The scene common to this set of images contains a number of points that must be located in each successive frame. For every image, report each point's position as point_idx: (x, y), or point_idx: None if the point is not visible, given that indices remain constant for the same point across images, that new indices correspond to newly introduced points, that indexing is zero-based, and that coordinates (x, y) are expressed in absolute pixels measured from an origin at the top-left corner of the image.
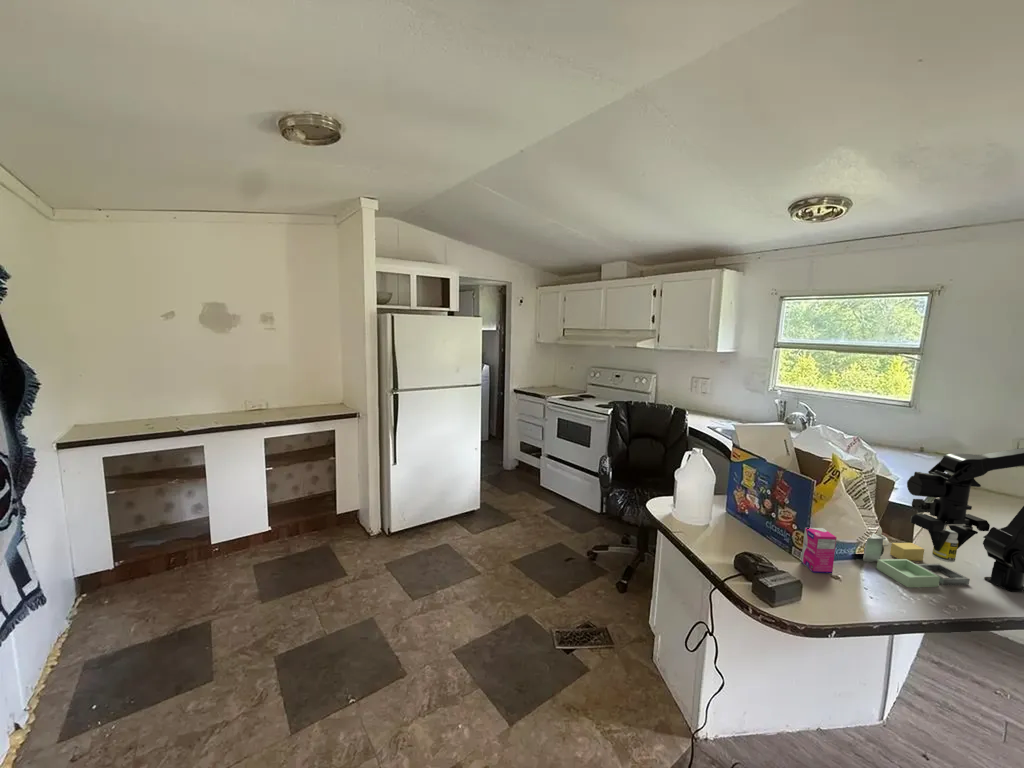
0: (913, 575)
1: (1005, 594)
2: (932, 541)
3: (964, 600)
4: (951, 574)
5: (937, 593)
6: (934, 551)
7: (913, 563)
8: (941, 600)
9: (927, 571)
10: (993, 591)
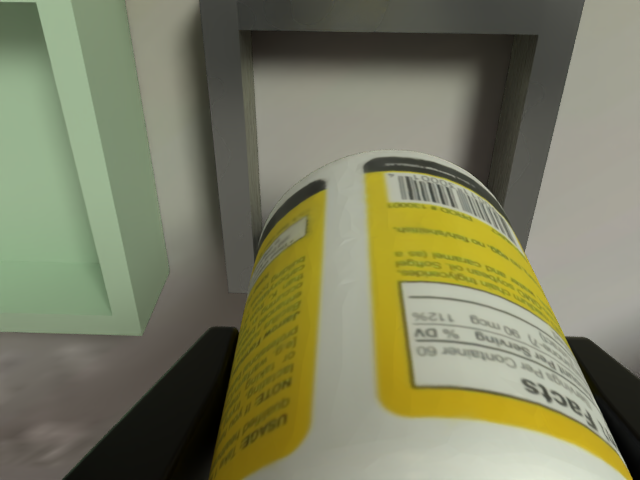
0: (48, 140)
1: (635, 372)
2: (111, 437)
3: None
4: (500, 158)
5: (78, 334)
6: (251, 277)
7: (71, 89)
8: (34, 391)
9: (97, 253)
10: (593, 340)
